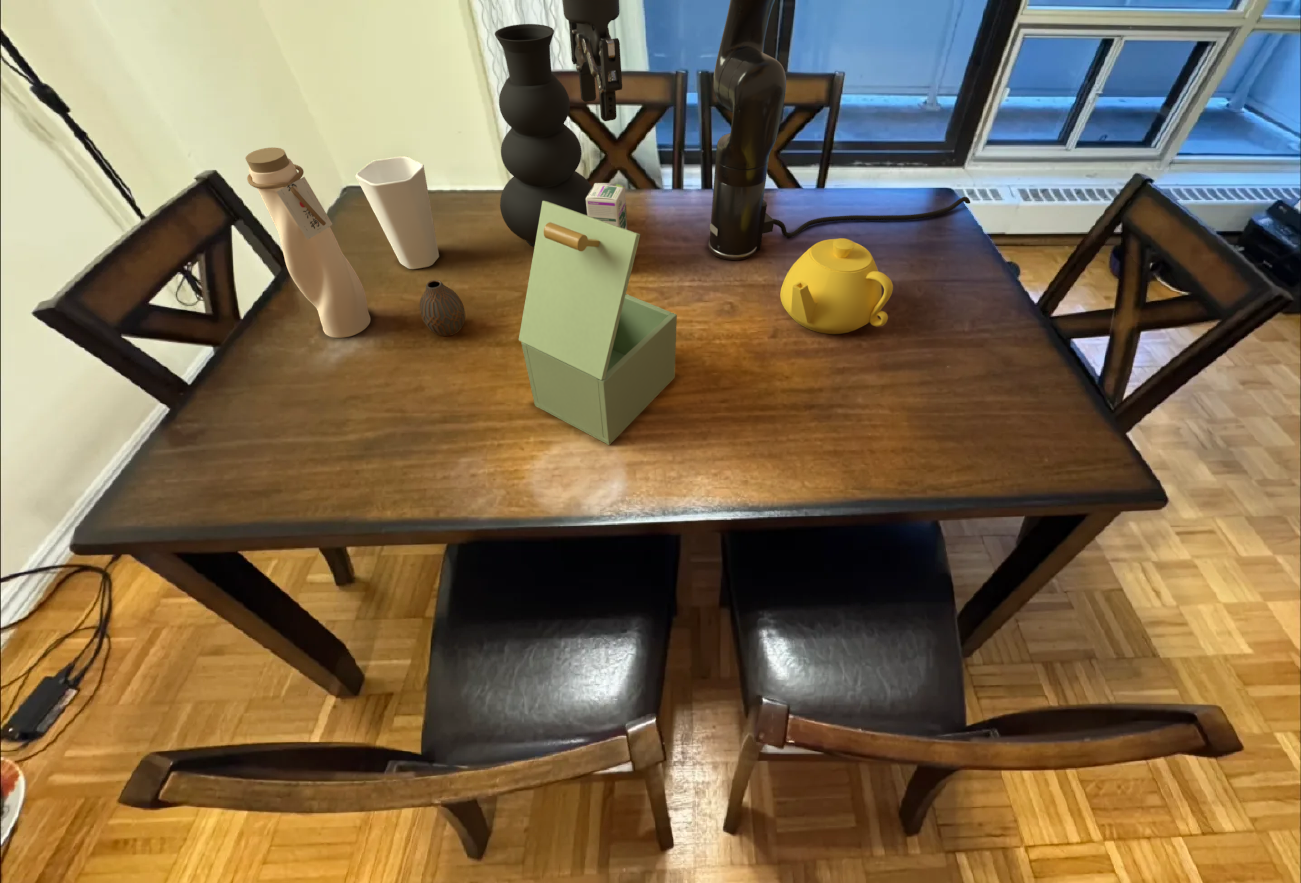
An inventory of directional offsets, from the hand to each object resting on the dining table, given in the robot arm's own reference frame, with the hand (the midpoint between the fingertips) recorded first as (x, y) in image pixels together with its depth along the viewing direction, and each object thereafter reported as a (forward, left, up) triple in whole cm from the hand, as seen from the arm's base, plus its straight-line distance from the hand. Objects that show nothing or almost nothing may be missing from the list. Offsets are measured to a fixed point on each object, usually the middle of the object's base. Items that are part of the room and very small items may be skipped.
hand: (598, 109), depth 88 cm
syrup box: (-1, -3, -29) cm, 29 cm away
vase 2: (+6, -17, -29) cm, 34 cm away
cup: (+32, -20, -29) cm, 47 cm away
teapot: (-29, +27, -29) cm, 49 cm away
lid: (+15, +31, -8) cm, 36 cm away
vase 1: (+31, +4, -29) cm, 42 cm away
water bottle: (+46, -4, -29) cm, 54 cm away
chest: (+12, +29, -28) cm, 42 cm away
